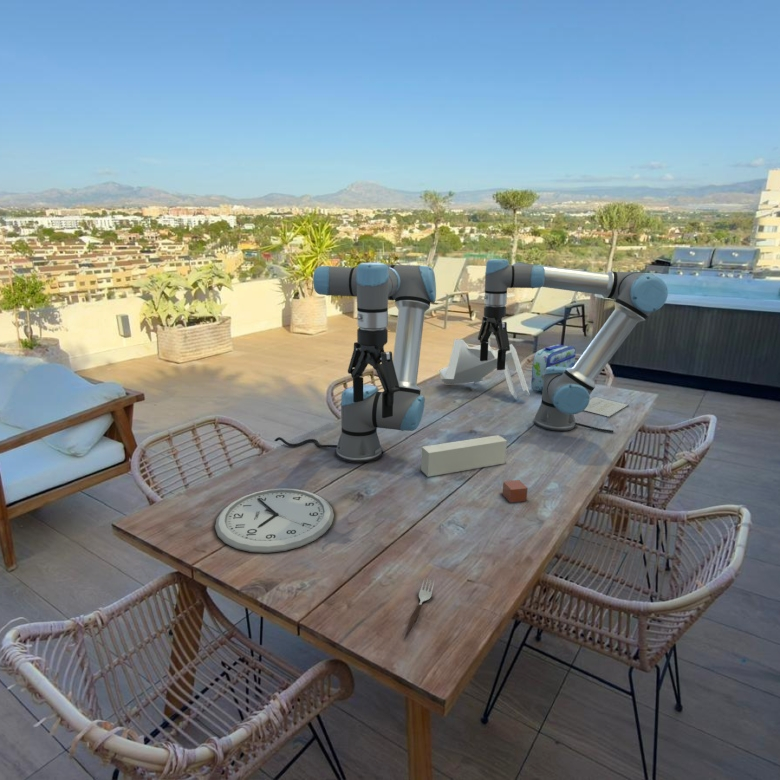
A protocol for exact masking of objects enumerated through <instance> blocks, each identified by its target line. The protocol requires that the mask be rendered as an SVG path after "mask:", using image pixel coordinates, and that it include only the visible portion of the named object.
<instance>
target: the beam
mask: <svg viewBox="0 0 780 780" xmlns="http://www.w3.org/2000/svg"><path fill="white" fill-rule="evenodd" d="M507 446H508V440H507V439H506V438H504V437H502V436H501V435H499V434H497V435H490V436H483V437H478V438H477V437H476V438H470V439H464V440H458V441H450V442H443V443H439V444H431V445H425V446H421V457H420V459H421V460H420V471H421V472H422V473H423V474H424V475H425V476H426V477H427V478H430V477H434V476H440V475H441V476H442V475H446V474H452V473H458V472H463V471H468V470H469V471H470V470H476V469H480V468H486V467H491V466H497V465H498V466H499V465H503V464H506V457H507V456H506V455H507Z"/></svg>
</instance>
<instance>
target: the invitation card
mask: <svg viewBox="0 0 780 780" xmlns="http://www.w3.org/2000/svg"><path fill="white" fill-rule="evenodd" d="M628 406H629V404H627V403H623V402H618V401H614V400H609V399H605V398H601V397H596V396H593V397H592V398H590V400H589V404H588V406H587V407H586V408H585V409H584V410H583V411H584V412H587V413H593V414H596V415H600V416H604V417H608V418H609V417H611V416H613V415H614V414H616V413H617V412H619V411H621V410H623V409H624V408H626V407H628Z"/></svg>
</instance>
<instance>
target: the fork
mask: <svg viewBox="0 0 780 780" xmlns="http://www.w3.org/2000/svg"><path fill="white" fill-rule="evenodd" d="M425 579H426V577H424V578H423V581H422V584H421V587H420V590H419V592H418V598H419V599H418V600H419V603H418V605H417V606H416V608H415V609H414V611H413V612H412V615H411V617H410V620H409V623H408V627H407V630H406V632H405V637H407V636H408V635H409V633H410V631H411V629H412V628H413V626H414V625H415V623H416V622H417V620H418V617H419V615H420V611H421V608H422V605H423V603H424V602H426V601H429V600H430V599H431V597H432V596H433V595H432V594H433V590H434V585H435V579H433V582H432V580H429V578H427V579H426V582H425ZM428 581H429V584H428ZM431 583H432V585H431ZM424 584H425V585H424Z"/></svg>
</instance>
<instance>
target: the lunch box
mask: <svg viewBox="0 0 780 780" xmlns="http://www.w3.org/2000/svg"><path fill="white" fill-rule="evenodd" d="M576 357H577V355H576V347H575V346H569V345H565V344H554V345H550V346H547V347H544V348H542V349H541V348H540V349H539V350H537V351H536V352H535V353H534V356H533V360H532V367H531V368H532V369H531V382H530V383H531V386H530V387H531V389H532V390H533V391H537V392H541V393H542V392H543V382H544V373H545V369H546V368H547V367H554V366H556V367H569V368H572V367H574V365H575V364H576Z"/></svg>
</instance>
